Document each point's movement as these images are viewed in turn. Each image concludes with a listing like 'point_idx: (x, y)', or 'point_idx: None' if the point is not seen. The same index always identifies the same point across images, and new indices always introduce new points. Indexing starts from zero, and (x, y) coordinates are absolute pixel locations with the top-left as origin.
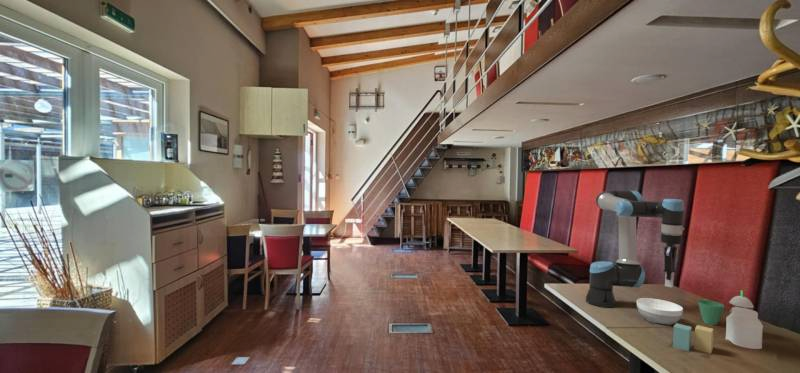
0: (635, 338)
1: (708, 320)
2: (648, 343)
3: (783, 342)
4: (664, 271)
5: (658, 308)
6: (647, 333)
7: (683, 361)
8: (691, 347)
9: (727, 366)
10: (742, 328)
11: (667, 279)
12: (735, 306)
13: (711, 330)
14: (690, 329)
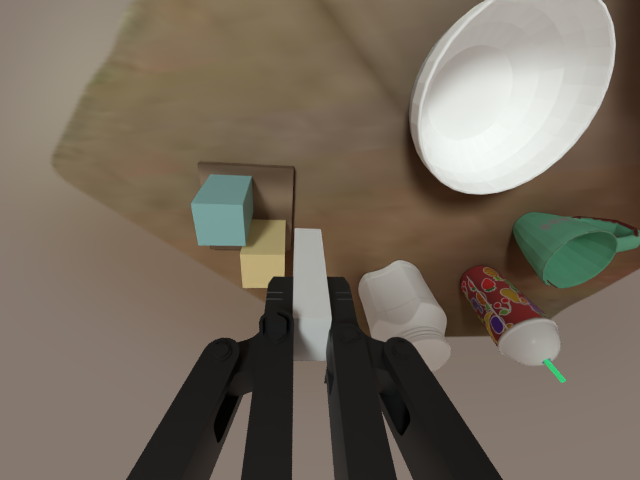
0: (196, 48)
1: (519, 228)
2: (190, 101)
3: (456, 327)
4: (264, 320)
5: (560, 88)
6: (294, 80)
7: (144, 203)
8: (253, 212)
9: (216, 272)
10: (370, 322)
11: (272, 283)
12: (505, 327)
13: (262, 286)
14: (222, 243)
